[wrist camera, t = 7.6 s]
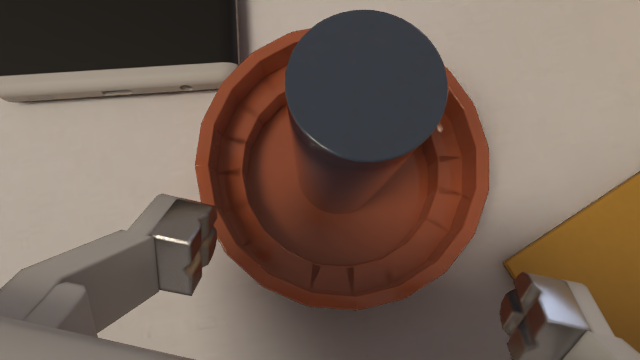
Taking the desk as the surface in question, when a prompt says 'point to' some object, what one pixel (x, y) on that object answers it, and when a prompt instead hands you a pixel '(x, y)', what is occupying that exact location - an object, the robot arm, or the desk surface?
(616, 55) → the desk surface
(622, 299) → the napkin
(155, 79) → the tablet
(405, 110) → the dark gray cylinder
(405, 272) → the bowl
